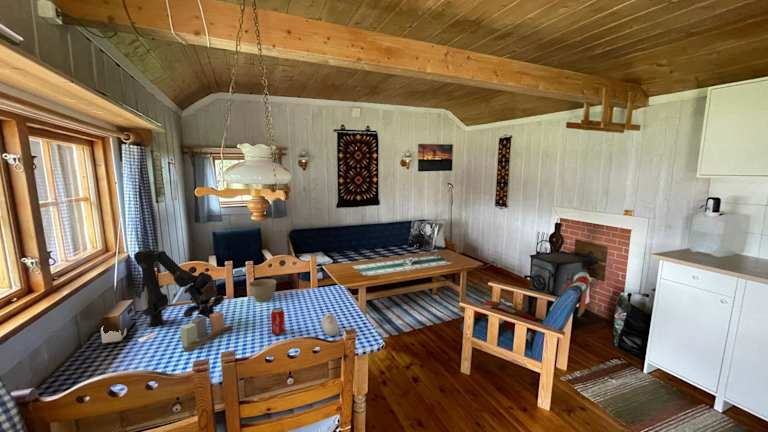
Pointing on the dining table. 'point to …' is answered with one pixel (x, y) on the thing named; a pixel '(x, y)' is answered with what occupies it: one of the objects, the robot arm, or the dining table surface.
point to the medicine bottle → (112, 336)
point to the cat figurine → (329, 324)
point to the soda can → (277, 321)
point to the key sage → (188, 334)
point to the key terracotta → (216, 322)
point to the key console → (207, 338)
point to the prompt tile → (146, 337)
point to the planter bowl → (262, 289)
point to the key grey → (200, 326)
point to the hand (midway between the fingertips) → (213, 319)
